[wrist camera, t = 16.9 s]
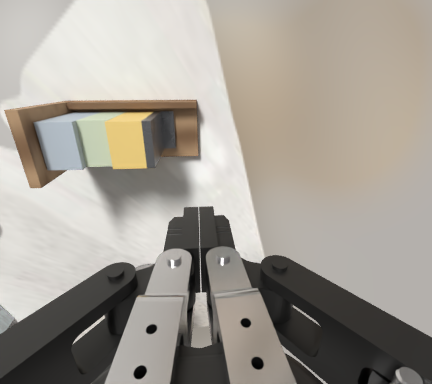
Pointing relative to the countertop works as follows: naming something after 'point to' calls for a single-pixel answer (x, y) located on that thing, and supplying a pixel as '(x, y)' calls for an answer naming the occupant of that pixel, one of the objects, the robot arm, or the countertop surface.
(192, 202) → the countertop surface
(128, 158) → the book ochre
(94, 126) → the book sage
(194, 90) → the countertop surface
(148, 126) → the bookend
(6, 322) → the skincare box
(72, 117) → the book slate
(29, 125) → the book trough
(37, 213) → the countertop surface
